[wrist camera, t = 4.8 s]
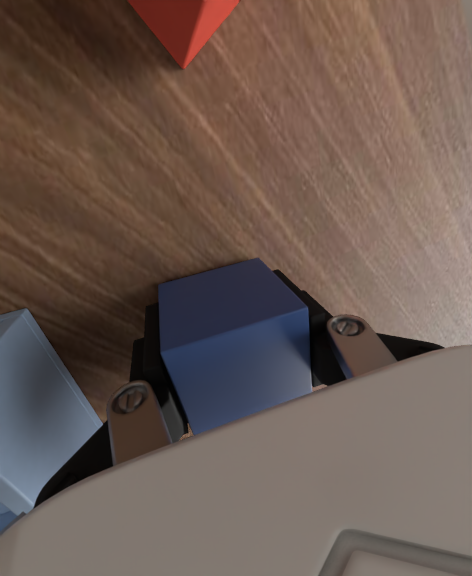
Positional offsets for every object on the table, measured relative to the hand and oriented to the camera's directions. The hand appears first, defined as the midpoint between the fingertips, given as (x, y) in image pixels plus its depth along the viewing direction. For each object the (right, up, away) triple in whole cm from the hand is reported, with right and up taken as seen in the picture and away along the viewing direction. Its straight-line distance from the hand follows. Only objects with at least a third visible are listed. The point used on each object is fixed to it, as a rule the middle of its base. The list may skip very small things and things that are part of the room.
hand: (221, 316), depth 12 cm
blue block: (0, 0, 0) cm, 0 cm away
